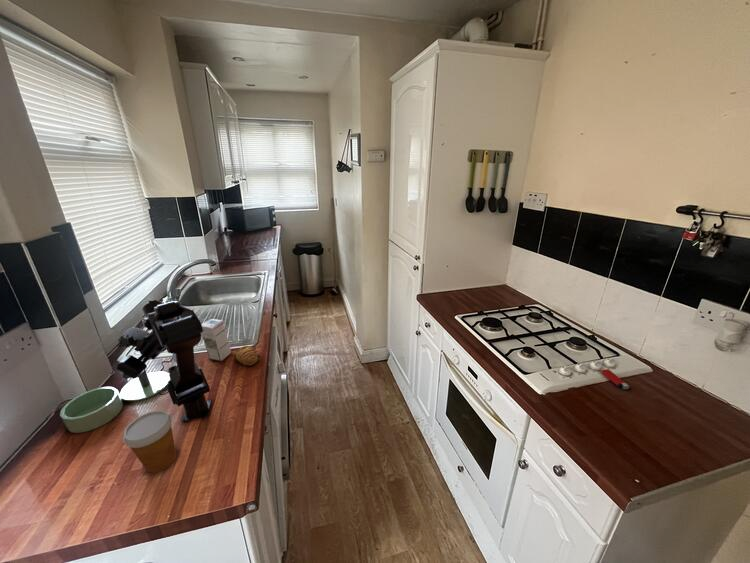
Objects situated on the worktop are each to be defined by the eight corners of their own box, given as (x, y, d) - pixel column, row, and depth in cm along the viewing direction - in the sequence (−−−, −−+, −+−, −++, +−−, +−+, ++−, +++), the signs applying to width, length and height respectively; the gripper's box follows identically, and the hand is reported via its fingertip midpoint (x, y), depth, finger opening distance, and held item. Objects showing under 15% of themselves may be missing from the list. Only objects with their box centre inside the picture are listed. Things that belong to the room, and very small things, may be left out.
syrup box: (231, 352, 118) (224, 319, 112) (221, 361, 112) (212, 327, 107) (219, 350, 119) (211, 317, 114) (208, 359, 114) (198, 325, 108)
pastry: (263, 361, 112) (261, 352, 111) (245, 369, 108) (243, 360, 106) (252, 350, 118) (250, 342, 117) (234, 358, 114) (232, 350, 113)
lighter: (609, 369, 102) (630, 385, 94) (608, 372, 102) (629, 388, 95) (601, 369, 102) (621, 386, 94) (600, 372, 102) (620, 389, 95)
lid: (163, 397, 96) (155, 374, 93) (112, 407, 93) (102, 384, 89) (176, 370, 108) (169, 350, 105) (131, 378, 105) (123, 357, 102)
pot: (111, 426, 86) (105, 412, 84) (56, 437, 83) (48, 424, 81) (130, 395, 97) (125, 383, 95) (82, 404, 94) (76, 392, 92)
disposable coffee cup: (175, 437, 82) (162, 403, 77) (189, 457, 76) (176, 421, 72) (132, 463, 75) (115, 427, 71) (145, 487, 69) (127, 450, 65)
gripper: (155, 307, 100) (132, 337, 104) (111, 339, 83) (85, 373, 87) (185, 327, 103) (162, 356, 107) (149, 362, 86) (122, 394, 90)
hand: (135, 368), depth 98 cm, fingers open, 9 cm apart
